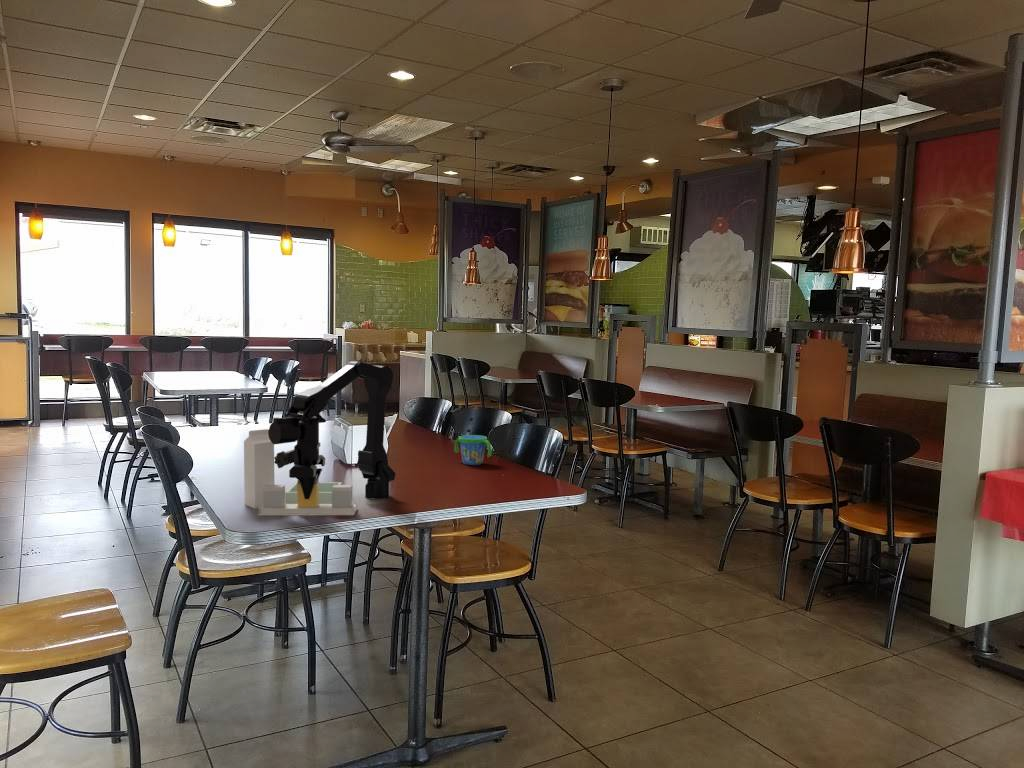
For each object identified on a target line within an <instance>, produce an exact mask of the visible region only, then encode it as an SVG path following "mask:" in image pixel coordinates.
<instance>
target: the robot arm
mask: <svg viewBox="0 0 1024 768" xmlns="http://www.w3.org/2000/svg"><path fill="white" fill-rule="evenodd" d="M358 378H359V379H363V382H364V383H363V385H364V388H365V390H366V392H367V394H368V403H367V405H368V406H367V421H366V439H365V446H364V447H363V449H362V450H361V449H360V450H358V452H357V461H356V462H357V463H356V465H358V470H359V471H360V472H361V475H362V478H363V479H367V481H366V482H367V483H365V492H364V493H365V494H364V495H365V496H364V497H365V499H370V500H384V499H385V500H386V499H389V498H390V495H391V494H390V493H391V492H390V491H391V490H390V489H391V486H390V485H391V484H390V483H391V482H392V481H394V480H395V478H396V472H395V471H394V470H393V468H391V467H390V465H389V458H388V453H387V451H386V449H385V447H384V435H385V421H386V420H385V419H386V405H387V404H386V403H387V401H386V400H387V399H386V398H387V396H388V394H389V393H390V391H391V389H392V387H393V382H394V371H393V370H392V368H391V367H389V366H387V365H379V364H378V365H377V364H368V363H365V362H363V361H357V360H356V361H355V360H351V361H349V362H347V364H346V365H345V366H343V367H342V368H340V370H338V371H336V372H335V373H334V374H332V375H330V377H329V378H327V379H325V380H324V381H322V383H320V384H319V385H316V386H315V387H311V388H308V389H305V390H303V391H301V392H299V393H297V394H296V395H295V396H294V397H293V401H292V403H291V405H290V407H289V409H288V410H287V412H286V413H285V415H284V417H273V418H272V423H270V425H269V428H268V435H269V439H270V441H271V442H272V443H273V444H274V445H281V444H288V443H296V444H295V445H294V446H293V449H290V450H288V451H283V450H282V451H281V452H277V453H276V455H275V456H274V465H276V466H277V468H278V469H282V468H283V467H285V466H288V465H291V464H293V466H292V467H291V468H290V469H289V470H288V472H289V473H288V475H289V476H288V477H289V478H291V479H292V478H293V479H297V481H298V480H299V481H300V483H301V487H302V490H303V494H304V498H305V499H309V498H310V495H311V492H312V490H313V487H314V484H315V481H316V478H319V479H320V476H321V473H322V472H323V468H318V466H319V465H321V467H325V465H326V457H325V456H324V455H322V454H320V447H321V442H320V423H321V424H322V423H327V420H326V418H324V417H323V416H322V415H321V412H322V411H323V410H325V408H326V407H327V406H328V404H329V401H330V400H331V398H333V397H334V396H336V395H337V394H338V393H340V392H341V391H342V390H343V389H344V388H346V387H348V386H349V385H350V384H351V383H353V382H354V381H355V380H356V379H358ZM317 465H318V466H317Z"/></svg>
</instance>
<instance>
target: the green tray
mask: <svg viewBox="0 0 1024 768" xmlns="http://www.w3.org/2000/svg"><path fill="white" fill-rule="evenodd" d="M333 485H343V482H339V481H335V482H334V481H333V482H331V481H328V482H327V481H326V482H325V481H320V482H319V504H332V487H333ZM285 504H298V481H296V482H294V483H293V484H292V485H291V486H290V487H289V488H288V489H287V490H285Z"/></svg>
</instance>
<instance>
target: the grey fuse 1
mask: <svg viewBox="0 0 1024 768" xmlns="http://www.w3.org/2000/svg"><path fill="white" fill-rule="evenodd" d="M285 492H286V485H285V484H274V485H265V486H264V487H263V508H284V507H285Z"/></svg>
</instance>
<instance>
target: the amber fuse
mask: <svg viewBox="0 0 1024 768" xmlns="http://www.w3.org/2000/svg"><path fill="white" fill-rule="evenodd" d="M319 479H320V477H319V478H316V481H315V484H314V487H313V490H312V492H311V495H310V498H309V499H305V498H304V494H303V490H302V487H301V483H300V481H299V480H298V479H297V482H298V506H317V505H318V504H319Z"/></svg>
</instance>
